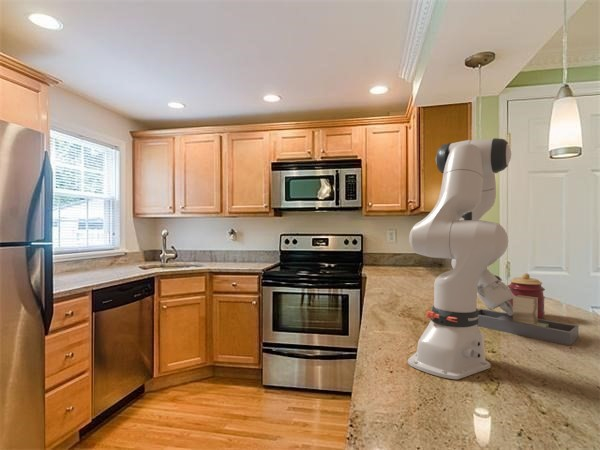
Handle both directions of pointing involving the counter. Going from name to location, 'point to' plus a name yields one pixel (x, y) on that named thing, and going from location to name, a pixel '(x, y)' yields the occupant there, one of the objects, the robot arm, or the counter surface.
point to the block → (525, 309)
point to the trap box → (529, 327)
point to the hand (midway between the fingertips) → (513, 314)
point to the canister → (528, 290)
